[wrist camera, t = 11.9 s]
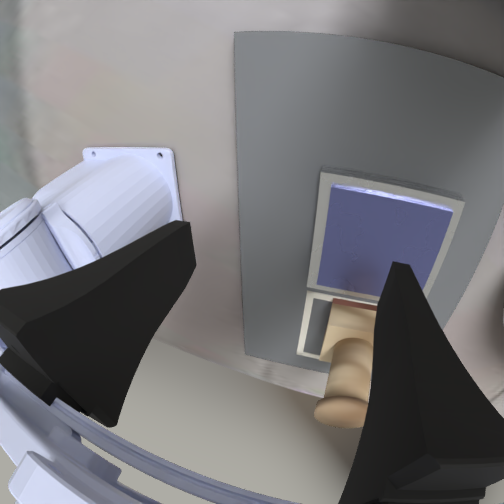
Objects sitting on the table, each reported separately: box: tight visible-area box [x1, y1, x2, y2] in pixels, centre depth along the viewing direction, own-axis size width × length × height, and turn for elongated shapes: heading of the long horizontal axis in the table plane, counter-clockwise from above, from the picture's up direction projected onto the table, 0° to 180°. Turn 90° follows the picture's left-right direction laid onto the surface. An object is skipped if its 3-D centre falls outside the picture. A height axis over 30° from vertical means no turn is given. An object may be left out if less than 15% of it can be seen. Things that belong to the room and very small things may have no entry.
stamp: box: [314, 298, 377, 428], centre depth 22 cm, size 5×5×9 cm
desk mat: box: [234, 31, 504, 381], centre depth 22 cm, size 18×30×1 cm, turn 0°
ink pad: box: [307, 165, 465, 301], centre depth 19 cm, size 9×9×2 cm
